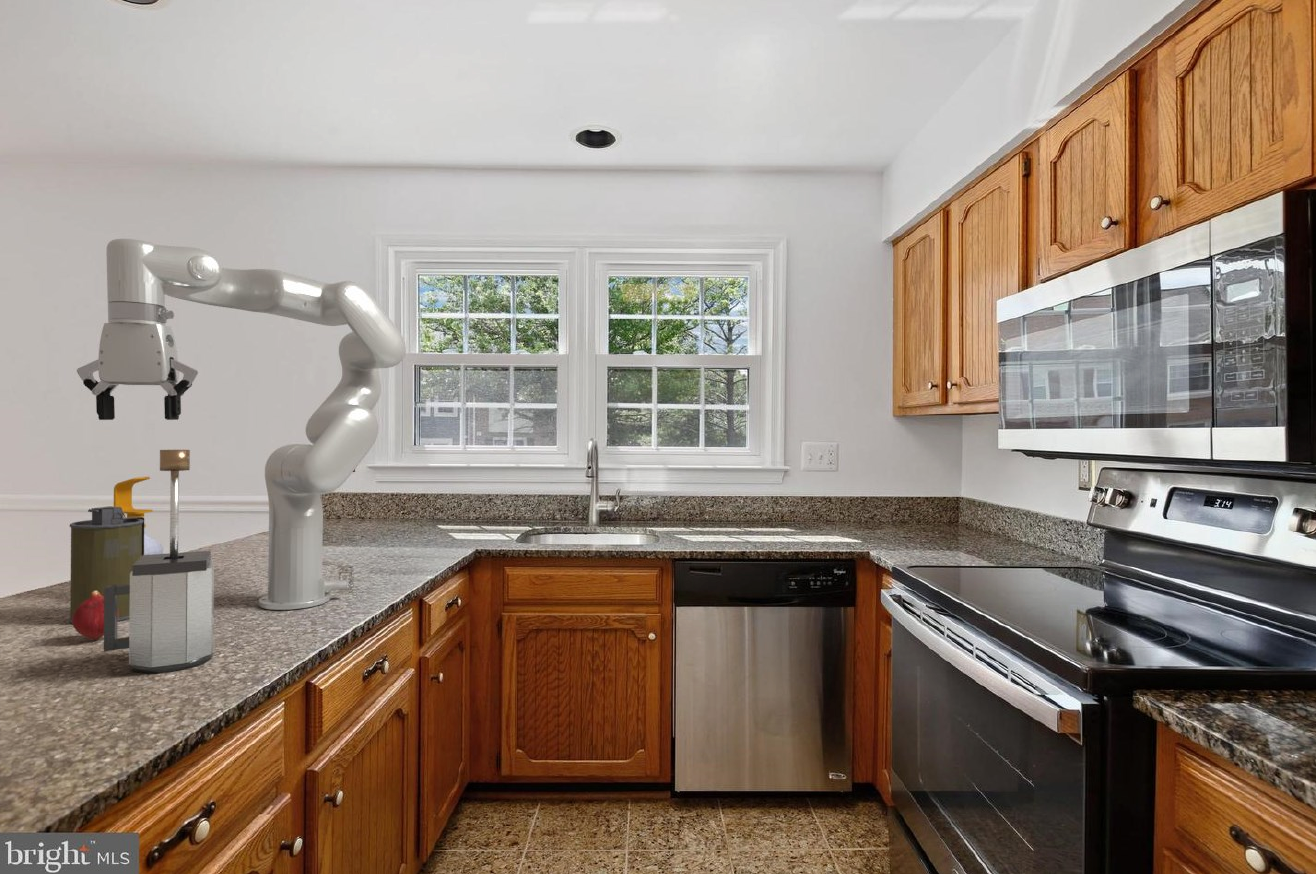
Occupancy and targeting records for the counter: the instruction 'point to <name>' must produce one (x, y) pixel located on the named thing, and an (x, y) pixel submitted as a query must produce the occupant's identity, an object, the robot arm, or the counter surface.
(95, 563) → the canister
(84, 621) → the onion
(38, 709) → the counter surface
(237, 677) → the counter surface
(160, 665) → the french press
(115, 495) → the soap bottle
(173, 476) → the plunger
